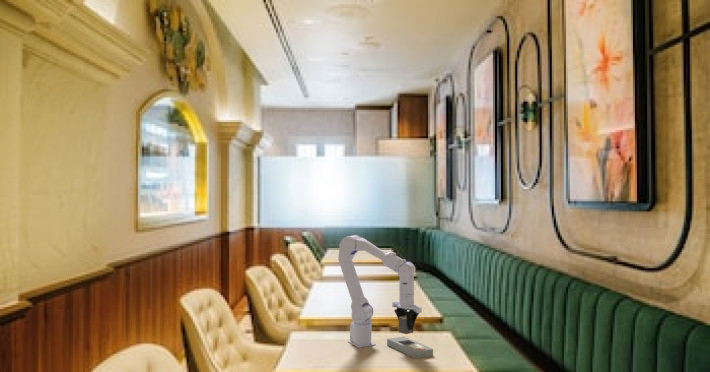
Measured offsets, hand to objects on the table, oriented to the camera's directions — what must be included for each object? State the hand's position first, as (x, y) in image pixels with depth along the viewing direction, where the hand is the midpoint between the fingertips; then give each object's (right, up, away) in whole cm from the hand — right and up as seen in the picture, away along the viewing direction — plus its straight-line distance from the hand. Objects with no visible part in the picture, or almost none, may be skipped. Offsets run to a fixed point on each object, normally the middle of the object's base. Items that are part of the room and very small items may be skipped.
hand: (406, 328), depth 208 cm
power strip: (+1, -8, -2) cm, 8 cm away
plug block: (0, -2, 0) cm, 2 cm away
